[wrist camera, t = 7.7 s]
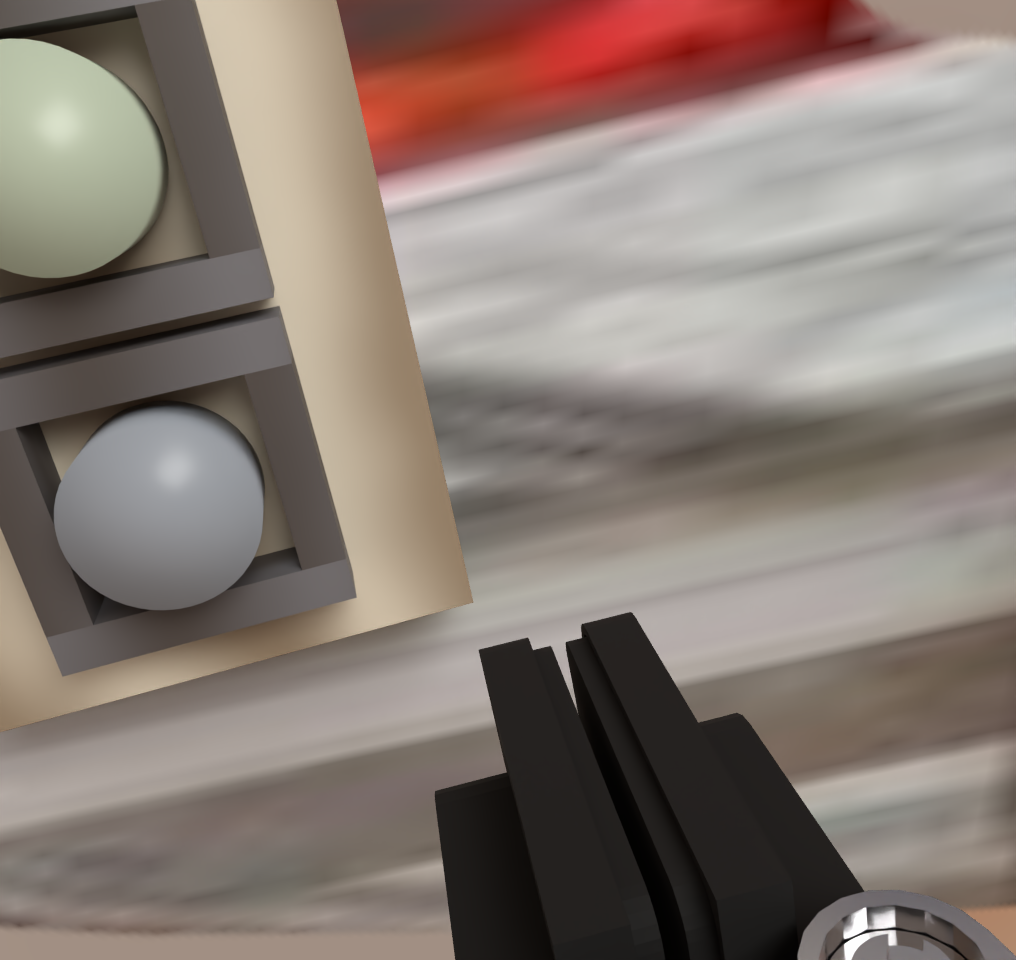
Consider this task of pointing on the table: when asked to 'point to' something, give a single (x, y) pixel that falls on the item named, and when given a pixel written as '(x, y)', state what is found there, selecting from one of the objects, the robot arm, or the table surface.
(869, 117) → the table surface
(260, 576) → the button board
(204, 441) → the button slate
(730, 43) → the table surface
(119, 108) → the button sage
